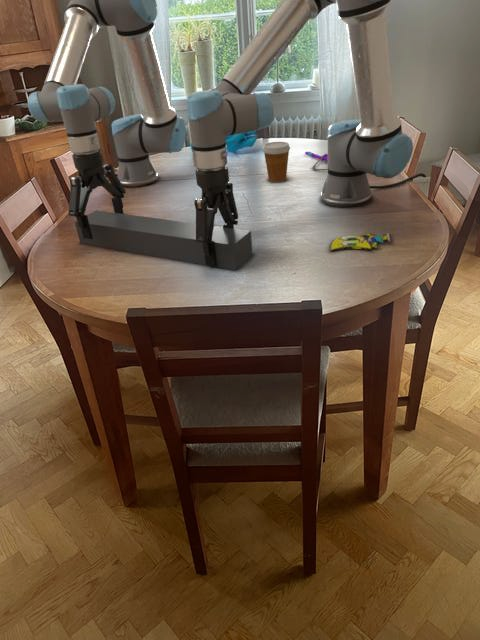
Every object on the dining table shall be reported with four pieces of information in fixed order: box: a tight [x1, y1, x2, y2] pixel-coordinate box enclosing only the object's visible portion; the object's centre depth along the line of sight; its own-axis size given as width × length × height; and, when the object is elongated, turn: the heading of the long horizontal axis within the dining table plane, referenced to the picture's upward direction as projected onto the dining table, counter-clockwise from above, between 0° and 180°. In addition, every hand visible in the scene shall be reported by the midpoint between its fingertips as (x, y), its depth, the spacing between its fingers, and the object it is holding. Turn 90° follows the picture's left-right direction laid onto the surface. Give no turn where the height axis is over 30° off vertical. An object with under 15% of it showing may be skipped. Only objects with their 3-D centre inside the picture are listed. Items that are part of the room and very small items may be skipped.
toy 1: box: [189, 131, 258, 154], centre depth 209 cm, size 17×11×30 cm
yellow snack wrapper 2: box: [330, 232, 391, 252], centre depth 122 cm, size 10×1×15 cm
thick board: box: [74, 209, 253, 271], centre depth 127 cm, size 51×9×7 cm, turn 62°
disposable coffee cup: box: [262, 141, 291, 183], centre depth 169 cm, size 10×10×12 cm
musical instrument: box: [304, 151, 328, 171], centre depth 185 cm, size 24×2×20 cm
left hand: (105, 229), depth 135 cm, fingers open, 13 cm apart
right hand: (221, 257), depth 121 cm, fingers closed on thick board, 9 cm apart
